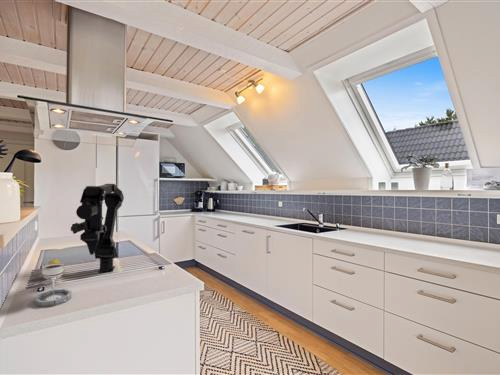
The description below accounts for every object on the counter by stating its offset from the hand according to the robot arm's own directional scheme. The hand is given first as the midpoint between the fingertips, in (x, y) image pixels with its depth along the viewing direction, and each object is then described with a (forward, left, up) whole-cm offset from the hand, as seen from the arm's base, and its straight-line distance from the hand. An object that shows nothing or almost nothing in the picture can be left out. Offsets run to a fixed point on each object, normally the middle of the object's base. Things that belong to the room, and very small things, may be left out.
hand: (94, 251), depth 121 cm
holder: (+16, -10, -13) cm, 23 cm away
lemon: (-9, -18, -13) cm, 24 cm away
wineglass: (+16, -10, -12) cm, 23 cm away
